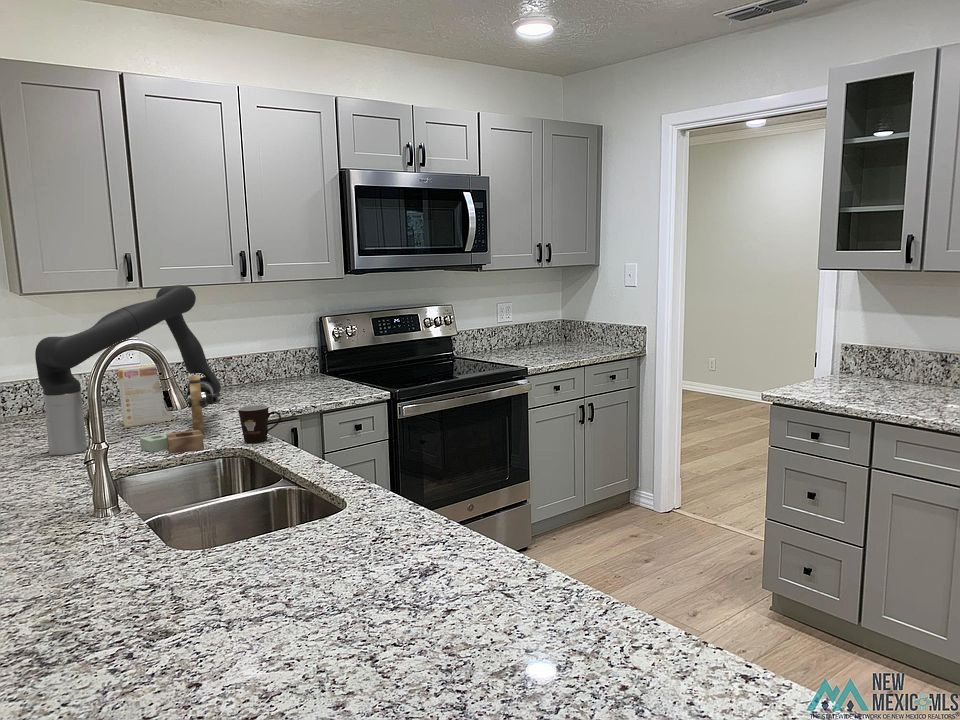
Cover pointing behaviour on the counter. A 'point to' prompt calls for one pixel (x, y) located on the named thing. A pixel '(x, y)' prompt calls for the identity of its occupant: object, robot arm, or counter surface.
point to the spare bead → (154, 443)
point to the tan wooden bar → (196, 403)
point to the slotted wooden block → (185, 441)
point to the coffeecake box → (141, 396)
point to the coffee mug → (255, 423)
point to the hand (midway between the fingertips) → (195, 403)
